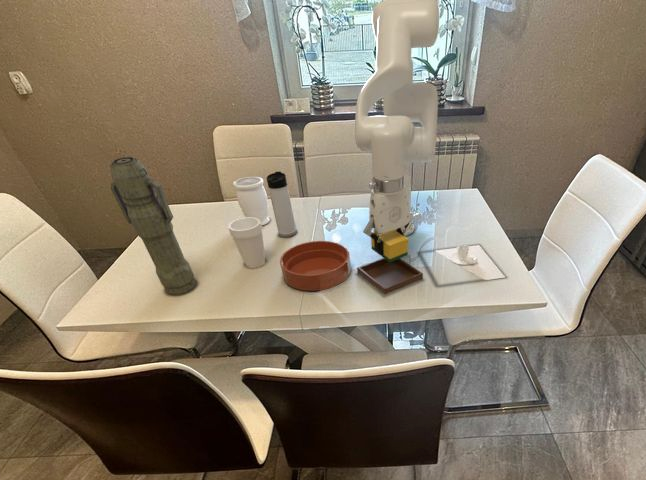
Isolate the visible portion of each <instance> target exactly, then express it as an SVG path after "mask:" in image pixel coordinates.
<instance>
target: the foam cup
mask: <svg viewBox="0 0 646 480" xmlns="http://www.w3.org/2000/svg"><path fill="white" fill-rule="evenodd" d="M227 227H228V231H229V234H230V236H231V237H232V240H233V241H234V244H235V246H236V248H237V251H238V252H239V254H240V256H241V258H242V260H243V263H244V265H245V267H246V268H249V269H256V268H260V267H262V266H263V265H265V264H266V253H265V244H264V236H263V225H262V226H261V222H260V219H258V218H255V217H245V216H244V217H240V218H237V219H234V220H232V221H231V222H229V223H228V225H227Z"/></svg>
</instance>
